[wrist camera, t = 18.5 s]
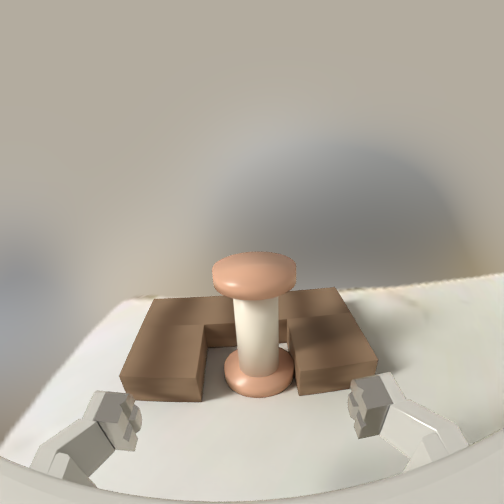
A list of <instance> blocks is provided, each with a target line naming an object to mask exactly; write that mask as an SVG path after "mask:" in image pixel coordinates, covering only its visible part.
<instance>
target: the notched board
mask: <svg viewBox="0 0 504 504" xmlns="http://www.w3.org/2000/svg"><path fill="white" fill-rule="evenodd" d="M278 327H279V343H286V342H287V345H288V350H289V354H290V355H291V357H292V359H293V361H294V376H295V380H296V385H297V389H298V394H299V396H302V395H310V394H317V393H324V392H331V391H337V390H343V389H349V388H350V385H351V381H352V380H353V379H358V378H363V377H367V376H372V375H375V371H376V367H377V362H378V359H377V357H376V355H375V353H374V352H373V350H372V348H371V346H370V345H369V343H368V341H367V339H366V338H365V336H364V334H363V333H362V331H361V329H360V328H359V326H358V324H357V322H356V321H355V319H354V317H353V316H352V314H351V312H350V311H349V309H348V307H347V306H346V304H345V302H344V301H343V299H342V298H341V296H340V294H339V293H338V291H337V289H336V288H335V287H332V288H321V289H310V290H298V291H288V292H287V293H285V294H283V295H280V296H278ZM231 346H237V337H236V326H235V315H234V303H233V298H229V297H226V296H210V297H191V298H168V299H154V300H153V302H152V304H151V306H150V308H149V311H148V313H147V315H146V317H145V319H144V321H143V323H142V326H141V328H140V330H139V332H138V334H137V336H136V339H135V341H134V343H133V345H132V348H131V350H130V352H129V354H128V357H127V359H126V361H125V364H124V366H123V368H122V370H121V373H120V375H119V377H120V380H121V382H122V384H123V387H124V389H125V392H126V393H128V394H132V395H133V397H134V399H135V400H143V401H165V402H202V393H203V384H204V375H205V367H206V359H207V350H208V348H209V347H231Z"/></svg>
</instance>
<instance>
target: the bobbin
mask: <svg viewBox="0 0 504 504" xmlns="http://www.w3.org/2000/svg"><path fill="white" fill-rule="evenodd" d="M212 273H213V282H214V287H215V289H216V290H217V291H218V292H219V293H220V294H222V295H224V296H226V297H229V298H233V303H234V315H235V326H236V337H237V347H238V349H237V350H235V351H234V352H232V353H231V354H230V355H229V356H228V357H227V359H226V361H225V363H224V371H225V378H226V382H227V384H228V385H229V387H230V388H231V389H232V390H234V391H235V392H237V393H238V394H241V395H243V396H247V397H253V398H263V397H269V396H273V395H276V394H278V393H280V392H282V391H283V390H285V389H286V388H287V387H288V386H289V385H290V384H291V382H292V380H293V375H294V361H293V359H292V357H291V355H290V354H289V353H288V352H287V351H285V350H284V349H282V348H280V347H279V327H278V296H280V295H283V294H285V293H287V292H288V291H290V290H291V289H292V288H293V287H294V286H295V284H296V264H295V262H294V261H293V260H292V259H291V258H289V257H287V256H284V255H281V254H277V253H272V252H246V253H239V254H234V255H231V256H228V257H225V258H223V259H221V260H219V261H218V262H216V263H215V265H214V266H213V268H212Z"/></svg>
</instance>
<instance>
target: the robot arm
mask: <svg viewBox="0 0 504 504" xmlns="http://www.w3.org/2000/svg"><path fill="white" fill-rule="evenodd" d="M350 388H351V390H352V392H351V393H350V394H349V395H348V410H349V414H350V417H351V418H352V419H354V420H355V423H354V428H355V431H356V434H357V437H358V439H361V438H366V437H371V436H375V435H379V436H380V437H382V438H383V439H384V440H386V441H387V442H388V443H389V444H391V445H392V446H393V447H395V448H396V449H397V450H398V451H400V452H401V453H402V454H404V455H405V456H406V457H408V458H409V459H410V461H409V463H408V464H407V466H406V467H405V469H404V471H403V473H400V474H397V475H394V476H391V477H387V478H384V479H381V480H377V481H373V482H370V483H366V484H362V485H358V486H354V487H349V488H345V489H340V490H335V491H330V492H324V493H319V494H312V495H306V496H299V497H291V498H282V499H271V500H258V501H235V502H207V501H184V500H171V499H160V498H151V497H144V496H137V495H130V494H124V493H118V492H113V491H108V490H103V489H99V488H97V487H96V485H95V484H94V483H93V482H92V481H91V480H90V479H89V478H88V477H89V476H90V475H91V474H93V473H94V472H95V471H96V470H97V469H98V468H99V467H100V466H101V465H102V464H103V463H104V462H105V461H106V459H107V458H108V457H109V456H110V455H111V454H112V453H113V452H114V451H115V450H124V451H135V448H136V444H137V441H138V438H137V436H136V433H137V432H138V431H140V429H141V425H142V416H141V412H140V409H139V408H138V407H137V406H136V405H134V403H135V399H134V397H133V395H132V394H128V393H118V392H106V391H96V392H94V394H93V396H92V398H91V400H90V402H89V404H88V407H87V409H86V411H85V413H84V415H83V418H82V419H78V420H76V421H75V422H74V423H72V424H71V425H69V426H68V427H66V428H65V429H63V430H62V431H61V432H59V433H58V434H56V435H55V436H53V437H52V438H50V439H49V440H47V441H46V442H44V443H43V444H42V445H40V446H39V448H38V450H37V452H36V454H35V457H34V459H33V461H32V463H31V465H30V468H28V467H25V466H22V465H20V464H17V463H15V462H12V461H10V460H8V459H5V458H3V457H1V456H0V504H504V428H502V429H500V430H499V431H497V432H495V433H493V434H491V435H490V436H488V437H486V438H484V439H482V440H480V441H478V442H476V443H474V444H472V445H470V446H469V444H468V442H467V441H466V439H465V437H464V436H463V434H462V432H461V430H460V429H459V427H458V425H457V424H456V423H455V422H453V421H451V420H449V419H447V418H445V417H443V416H441V415H439V414H437V413H435V412H433V411H431V410H429V409H427V408H425V407H424V406H422V405H420V404H418V403H416V402H414V401H412V400H406V398H405V396H404V394H403V392H402V391H401V389H400V387H399V385H398V384H397V382H396V380H395V378H394V377H393V375H392V373H390V372H386V373H382V374H377V375H372V376H367V377H363V378H358V379H353V380H352V381H351V385H350Z"/></svg>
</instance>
